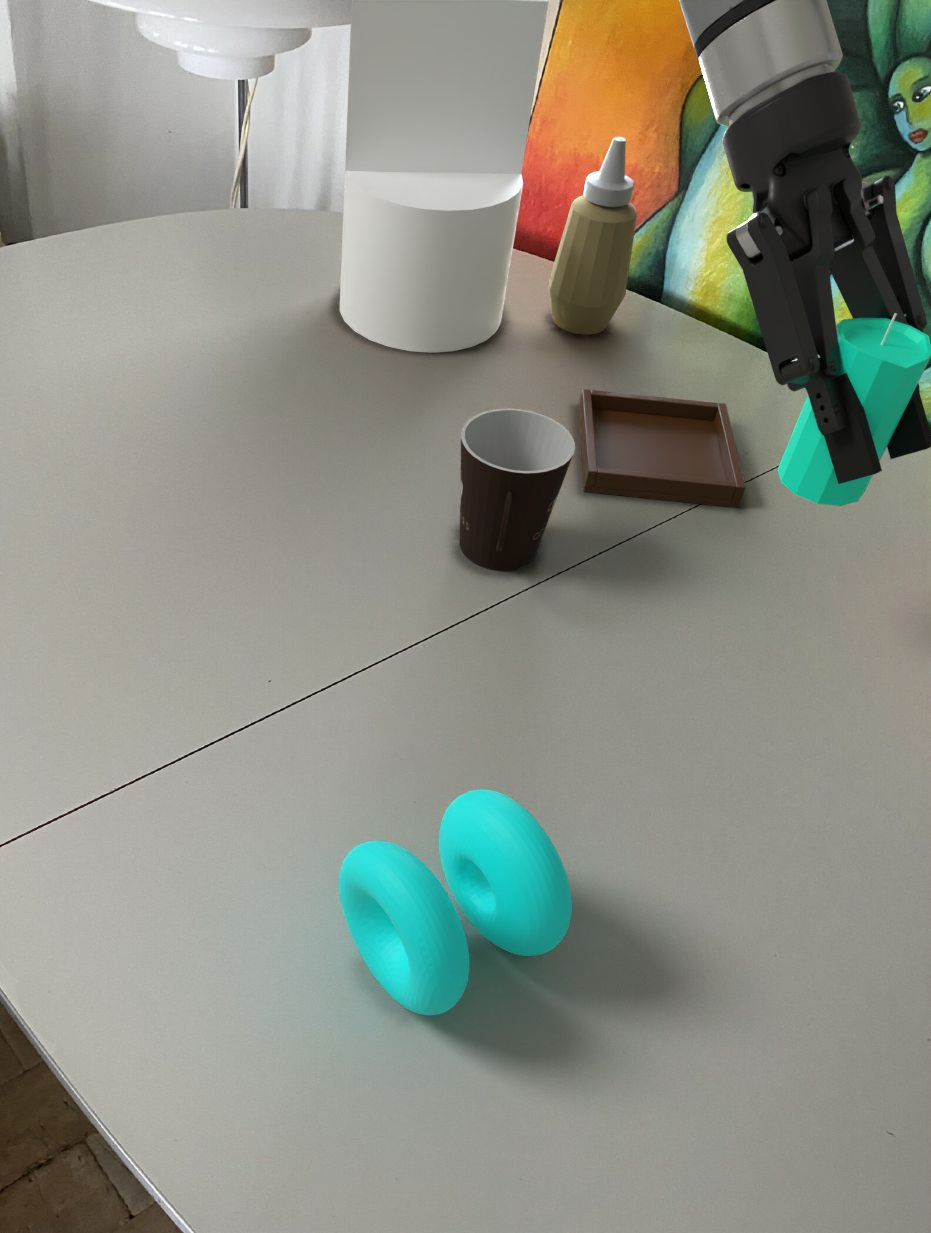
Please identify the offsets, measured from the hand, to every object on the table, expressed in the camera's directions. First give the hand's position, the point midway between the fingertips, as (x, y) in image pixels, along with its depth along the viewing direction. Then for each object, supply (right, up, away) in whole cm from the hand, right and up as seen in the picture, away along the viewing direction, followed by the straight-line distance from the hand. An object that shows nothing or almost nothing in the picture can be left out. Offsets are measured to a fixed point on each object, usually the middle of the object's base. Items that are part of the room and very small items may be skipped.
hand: (886, 463), depth 69 cm
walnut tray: (-8, +8, +28) cm, 30 cm away
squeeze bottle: (-11, +27, +44) cm, 53 cm away
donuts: (-30, -30, -7) cm, 43 cm away
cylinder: (-28, +28, +44) cm, 59 cm away
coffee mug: (-24, -3, +17) cm, 30 cm away
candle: (-2, 0, +5) cm, 5 cm away
